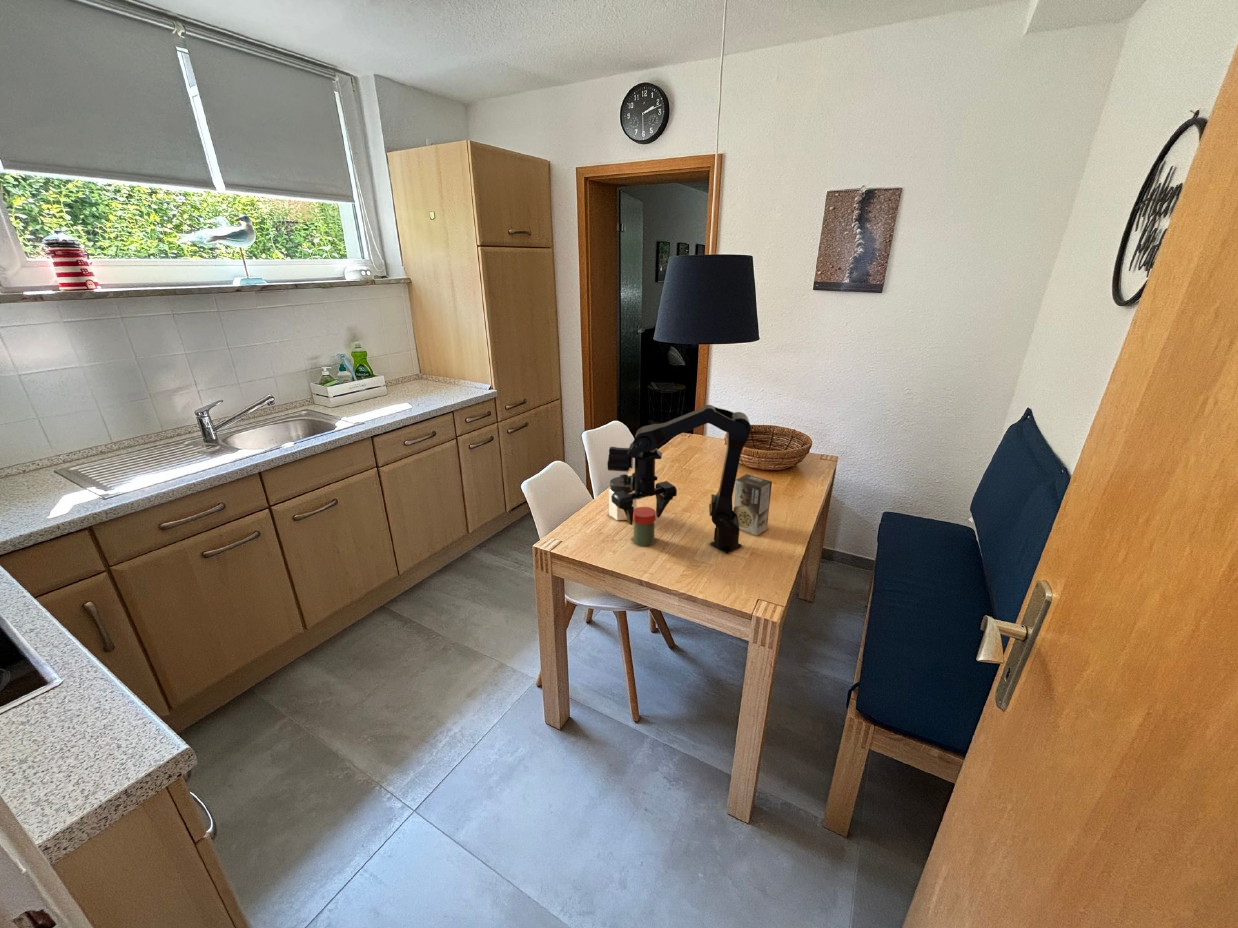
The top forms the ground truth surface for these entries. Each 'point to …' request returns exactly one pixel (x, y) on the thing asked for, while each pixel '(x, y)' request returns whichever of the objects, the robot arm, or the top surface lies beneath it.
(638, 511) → the lid
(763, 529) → the coffee box
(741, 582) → the top surface
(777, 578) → the top surface
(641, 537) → the green jar
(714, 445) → the top surface
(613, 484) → the jar
